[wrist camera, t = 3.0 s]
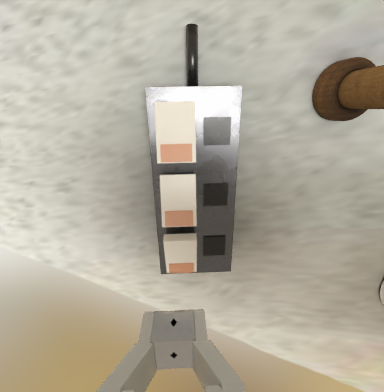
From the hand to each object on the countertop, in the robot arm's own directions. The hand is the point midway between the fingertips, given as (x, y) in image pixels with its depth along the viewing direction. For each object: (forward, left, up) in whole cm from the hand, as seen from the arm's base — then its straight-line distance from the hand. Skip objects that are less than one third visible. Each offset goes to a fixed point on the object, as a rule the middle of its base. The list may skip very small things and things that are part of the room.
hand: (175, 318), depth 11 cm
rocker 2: (0, +8, -16) cm, 17 cm away
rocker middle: (0, 0, -16) cm, 16 cm away
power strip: (-2, -3, -21) cm, 21 cm away
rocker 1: (0, -7, -16) cm, 17 cm away
